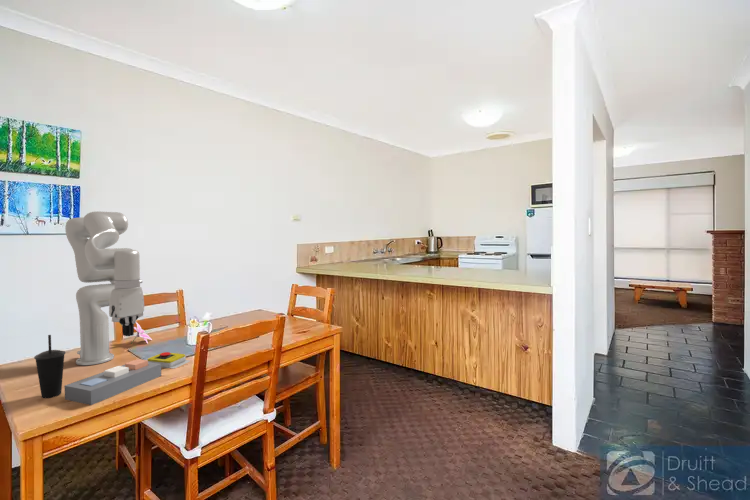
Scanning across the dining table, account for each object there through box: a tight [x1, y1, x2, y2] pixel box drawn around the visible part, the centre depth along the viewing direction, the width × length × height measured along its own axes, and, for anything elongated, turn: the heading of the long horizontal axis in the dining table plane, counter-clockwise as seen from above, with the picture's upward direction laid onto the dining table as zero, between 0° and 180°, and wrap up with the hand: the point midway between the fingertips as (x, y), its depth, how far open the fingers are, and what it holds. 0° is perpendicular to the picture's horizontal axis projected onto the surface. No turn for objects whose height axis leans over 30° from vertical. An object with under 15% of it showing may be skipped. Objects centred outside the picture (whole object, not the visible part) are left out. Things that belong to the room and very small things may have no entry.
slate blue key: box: [81, 378, 107, 387], centre depth 120 cm, size 5×5×3 cm
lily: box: [130, 321, 153, 345], centre depth 178 cm, size 12×12×10 cm
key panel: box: [63, 362, 162, 406], centre depth 127 cm, size 12×25×4 cm, turn 162°
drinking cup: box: [33, 334, 66, 399], centre depth 120 cm, size 8×8×20 cm
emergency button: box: [147, 351, 191, 369], centre depth 151 cm, size 9×4×15 cm
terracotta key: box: [124, 358, 148, 370], centre depth 134 cm, size 5×5×3 cm
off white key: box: [103, 365, 129, 378], centre depth 127 cm, size 5×5×3 cm
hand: (128, 335), depth 131 cm, fingers closed
